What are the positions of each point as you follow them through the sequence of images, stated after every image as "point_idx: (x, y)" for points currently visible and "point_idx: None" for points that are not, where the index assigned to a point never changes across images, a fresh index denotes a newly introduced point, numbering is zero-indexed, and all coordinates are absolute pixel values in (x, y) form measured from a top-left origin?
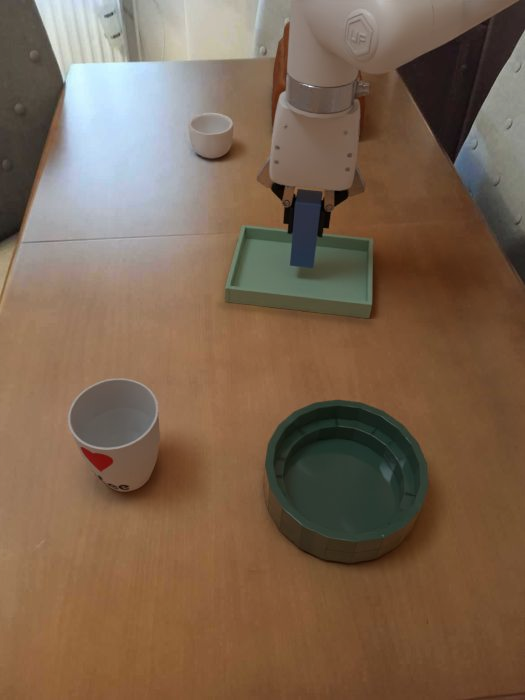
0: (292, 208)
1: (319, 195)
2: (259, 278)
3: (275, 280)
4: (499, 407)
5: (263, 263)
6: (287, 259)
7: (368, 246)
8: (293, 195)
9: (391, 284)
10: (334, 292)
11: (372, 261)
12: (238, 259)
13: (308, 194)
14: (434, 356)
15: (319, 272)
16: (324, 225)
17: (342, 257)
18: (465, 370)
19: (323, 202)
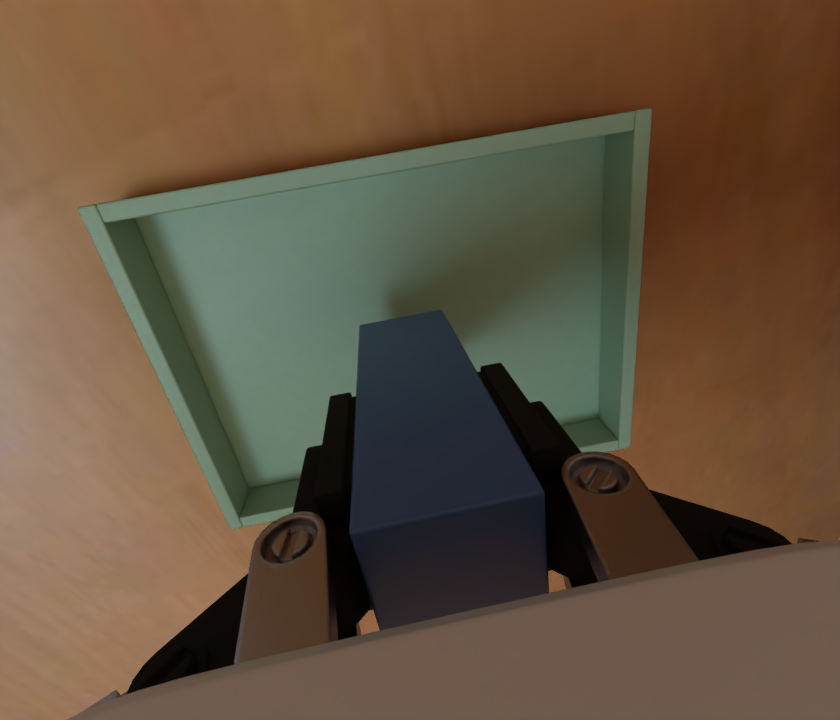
0: (370, 607)
1: (530, 546)
2: (291, 400)
3: (339, 392)
4: (817, 527)
5: (271, 333)
6: (339, 285)
7: (625, 154)
8: (345, 586)
9: (670, 271)
10: (514, 378)
11: (641, 264)
12: (189, 378)
13: (450, 563)
14: (733, 467)
15: (457, 310)
16: None
17: (519, 205)
18: (785, 478)
19: (557, 559)
